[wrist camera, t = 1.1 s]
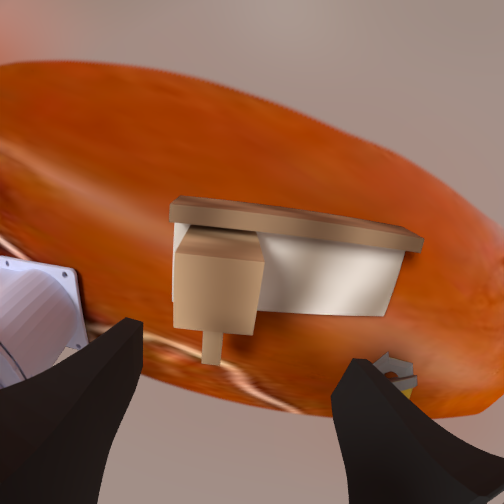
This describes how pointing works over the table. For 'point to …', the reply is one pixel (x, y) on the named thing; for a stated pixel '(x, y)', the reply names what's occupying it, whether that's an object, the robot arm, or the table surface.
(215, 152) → the table surface
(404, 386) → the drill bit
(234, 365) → the table surface
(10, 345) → the robot arm
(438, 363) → the table surface
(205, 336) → the block
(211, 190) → the table surface
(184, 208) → the board
